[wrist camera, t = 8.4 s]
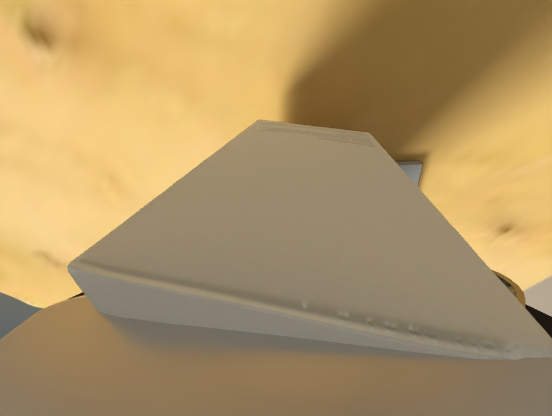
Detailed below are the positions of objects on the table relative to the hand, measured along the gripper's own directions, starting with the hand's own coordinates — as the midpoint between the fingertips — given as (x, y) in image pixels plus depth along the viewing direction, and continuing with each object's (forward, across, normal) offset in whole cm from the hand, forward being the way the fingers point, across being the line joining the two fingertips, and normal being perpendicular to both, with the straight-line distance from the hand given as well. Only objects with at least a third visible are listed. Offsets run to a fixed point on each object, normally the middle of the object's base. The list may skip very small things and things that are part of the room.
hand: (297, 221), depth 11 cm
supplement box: (+6, 0, 0) cm, 6 cm away
